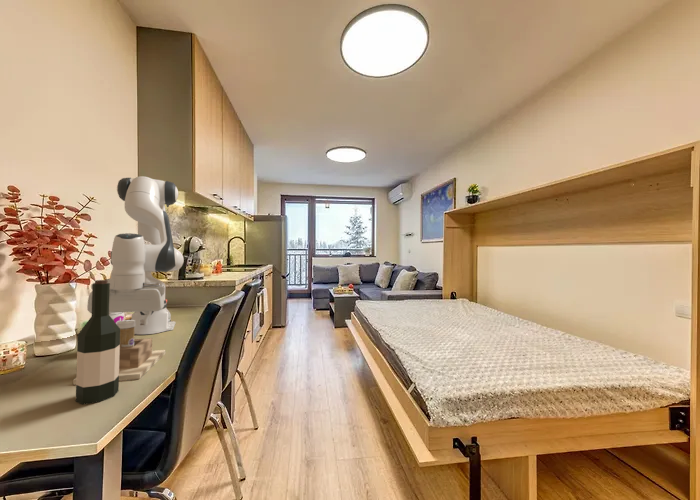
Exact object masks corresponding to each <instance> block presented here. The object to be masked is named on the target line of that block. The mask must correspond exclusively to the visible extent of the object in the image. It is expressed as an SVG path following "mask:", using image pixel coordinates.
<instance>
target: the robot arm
mask: <svg viewBox="0 0 700 500" xmlns="http://www.w3.org/2000/svg"><path fill="white" fill-rule="evenodd" d="M116 192H117V196H118V197H119V199H121V200H122V201H123V202H124V211H125V212H126V214H127V215H128V216H129V218H131V219H132V220H134V221H135V222H137V233H130V232H129V233H127V232H126V233H118V234H117V235H115V236H114V238H113V242H112V248H111V251H110V264H111V266H112V270H111V272H110V278H107V279H105V280H108V283H110V293H109V315H110V313H112V312H123V313H132V314H131V317H130V318H131V319H130V320H135V326H134V327H135V328H134V335H153V334H158V333H163V332H167V331H172V330H173V331H174V328H175V326H176V321H174V320H173V321H172V320H171V315H172V314H171V312H170V310H168V308H167V303H168V299H166V287H167V286H166V283H165V282H163V281H162V280H160V279H158V278H155V277H154V276H153V275H152V272H154V273H155V272H160V273H168V272H173V271H178V270H180V269H182V267H183V265H184V262H185V261H184V260H185V259H184V255H183V254H182V252H181V251H180V250H178V249H177V248H176V247H174V240H173V233H172V228H171V223H170V222H171V221H170V217H169V215H168V213H167V209H166V208H169V207H170V206H171V205H174V204H175V203H176V202H177V200H178V198H179V190H178V187H177V185H176V183H174V182H172V181H169V180H162V179H154V178H151V177H148V176H145V175H144V176H143V175H142V176H140V175H139V176H137V177H136V176H135V177H122V178H121V179H120V180H118V182H117V185H116ZM165 205H166V206H165ZM145 241H146V242H148V243H149V244H145ZM93 284H95V282H92V284H91V285H90V288H91V290H92V285H93ZM86 306H87V311H88V313H90V314H92V291H91V292H90V293H89V294H88V298H87V305H86ZM113 321H114V320H113Z"/></svg>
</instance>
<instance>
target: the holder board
mask: <svg viewBox="0 0 700 500" xmlns="http://www.w3.org/2000/svg"><path fill="white" fill-rule="evenodd" d="M165 355H166V349H159V350H158V349H156V350H153V337H151V338H149V337H147V338H134V347H120V355H119V382H121V381H131V380H133V381H134V380H140V379H142V377H144V376H145V374H146V373H147V372H148V371H149V370H151V369H152V368H153V367H154V366H155V364H157V363H158V361H160V359H162V358H163V357H164V356H165ZM72 383H73V386H74V385H75V386H76V377H75V378H74V379H73V381H72Z"/></svg>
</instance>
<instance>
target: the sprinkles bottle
mask: <svg viewBox="0 0 700 500" xmlns="http://www.w3.org/2000/svg"><path fill="white" fill-rule="evenodd" d="M117 326H118V327H119V328H120V347H134V339H135V334H134V328H135V327H134V326H135V320H131V319H124V321H120V322H118V325H117Z"/></svg>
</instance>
